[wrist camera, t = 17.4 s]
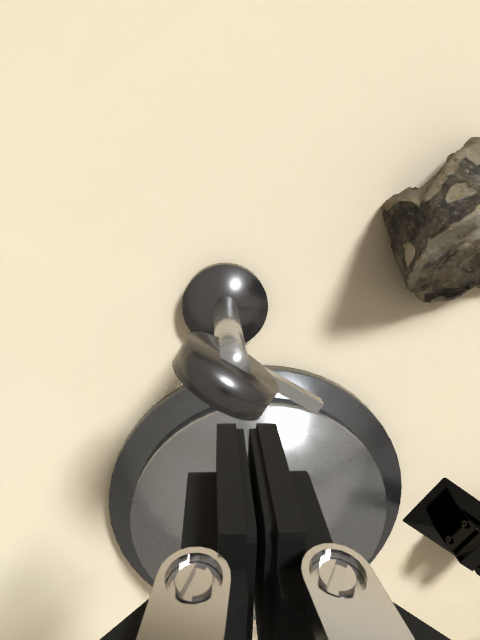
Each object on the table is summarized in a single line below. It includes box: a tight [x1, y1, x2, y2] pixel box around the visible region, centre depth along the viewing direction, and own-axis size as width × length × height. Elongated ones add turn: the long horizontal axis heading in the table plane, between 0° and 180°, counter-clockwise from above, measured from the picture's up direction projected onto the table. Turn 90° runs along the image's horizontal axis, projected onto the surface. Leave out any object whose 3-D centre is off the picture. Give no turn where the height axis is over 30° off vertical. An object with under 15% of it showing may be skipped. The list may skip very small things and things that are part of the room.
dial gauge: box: [173, 263, 324, 421], centre depth 23 cm, size 9×6×14 cm, turn 59°
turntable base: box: [109, 365, 401, 586], centre depth 34 cm, size 24×24×1 cm
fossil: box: [382, 137, 480, 303], centre depth 26 cm, size 11×9×10 cm
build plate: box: [403, 478, 480, 576], centre depth 35 cm, size 12×7×5 cm, turn 53°
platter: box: [130, 397, 387, 619], centre depth 30 cm, size 20×20×6 cm
